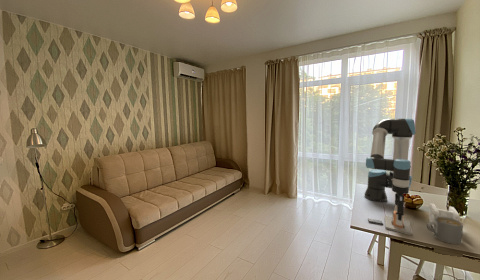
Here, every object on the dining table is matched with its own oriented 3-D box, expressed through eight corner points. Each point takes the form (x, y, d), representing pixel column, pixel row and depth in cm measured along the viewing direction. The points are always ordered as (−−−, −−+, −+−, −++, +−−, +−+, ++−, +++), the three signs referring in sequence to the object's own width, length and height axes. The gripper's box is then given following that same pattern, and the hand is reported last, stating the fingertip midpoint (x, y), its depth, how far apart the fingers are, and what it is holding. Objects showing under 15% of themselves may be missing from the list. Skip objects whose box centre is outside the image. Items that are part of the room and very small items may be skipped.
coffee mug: (457, 236, 104) (459, 219, 103) (464, 246, 96) (466, 228, 95) (423, 229, 111) (425, 212, 110) (427, 237, 103) (429, 220, 102)
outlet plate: (384, 217, 125) (384, 215, 125) (408, 222, 118) (408, 220, 118) (385, 228, 112) (385, 226, 112) (412, 235, 105) (412, 233, 105)
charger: (392, 223, 118) (393, 210, 117) (401, 225, 115) (402, 212, 114) (393, 227, 114) (394, 213, 113) (402, 229, 111) (403, 215, 111)
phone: (367, 219, 122) (367, 218, 122) (381, 222, 119) (381, 220, 119) (368, 222, 119) (368, 220, 119) (382, 225, 116) (382, 223, 116)
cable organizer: (459, 236, 104) (461, 216, 103) (432, 229, 111) (433, 210, 109) (451, 224, 116) (453, 205, 115) (427, 218, 122) (428, 201, 121)
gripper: (391, 179, 124) (388, 210, 126) (393, 190, 104) (391, 227, 106) (406, 181, 120) (403, 213, 122) (412, 193, 100) (409, 231, 102)
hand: (397, 219), depth 114 cm, fingers open, 13 cm apart
